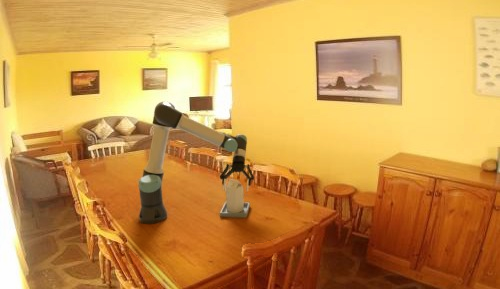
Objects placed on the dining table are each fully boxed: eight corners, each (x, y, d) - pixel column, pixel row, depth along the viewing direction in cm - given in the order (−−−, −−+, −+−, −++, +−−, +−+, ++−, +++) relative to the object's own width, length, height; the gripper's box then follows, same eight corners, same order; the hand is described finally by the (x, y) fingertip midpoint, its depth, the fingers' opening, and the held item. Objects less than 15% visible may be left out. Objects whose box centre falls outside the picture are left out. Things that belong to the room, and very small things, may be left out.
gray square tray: (220, 217, 169) (219, 212, 168) (225, 205, 183) (225, 201, 183) (246, 217, 167) (246, 213, 166) (249, 206, 181) (249, 202, 181)
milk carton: (234, 207, 180) (233, 176, 176) (244, 210, 175) (243, 179, 171) (226, 211, 174) (225, 180, 170) (236, 214, 170) (234, 182, 166)
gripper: (259, 161, 185) (257, 193, 174) (220, 160, 188) (215, 192, 177) (259, 155, 179) (256, 188, 168) (217, 154, 182) (213, 187, 171)
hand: (235, 190), depth 172 cm, fingers open, 13 cm apart
